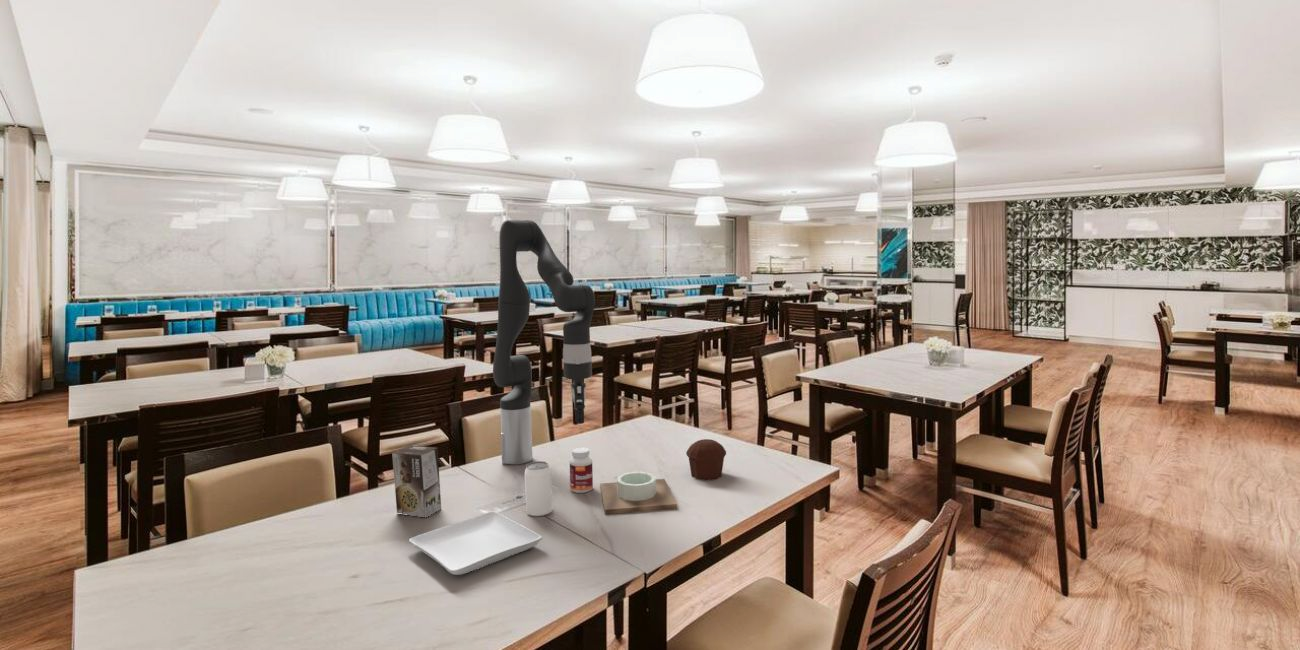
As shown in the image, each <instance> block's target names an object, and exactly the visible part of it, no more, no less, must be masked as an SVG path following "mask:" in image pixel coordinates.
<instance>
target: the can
mask: <svg viewBox="0 0 1300 650" xmlns="http://www.w3.org/2000/svg"><path fill="white" fill-rule="evenodd" d="M525 467H526V468H525V470H524V489H525V491H524V492H525V493H524V494H525V509H526V510H525V511H526V513H527V515H528V516H530V517H543V516H547V515H549V514H551V512H552V511H553V486H552V469H551V467H550V464H549V462H547V461H532V462H528V463H526V465H525Z"/></svg>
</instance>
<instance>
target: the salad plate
mask: <svg viewBox="0 0 1300 650" xmlns="http://www.w3.org/2000/svg"><path fill="white" fill-rule="evenodd" d="M542 539H543V536H542V535H540V534H539V533H537V532H535V531H533V530H532V529H530V528H528V527H526V526H524V525H522V524H521V523H519V522H516V521H514V520H512V519H511V518H509V517H506V516H505V515H503V514H502V513H499V512H497V511H494V510H493V511H489V512H485V513H482V514H480V515H479V514H478V515H476V516H472V517H470V518H467V519H463V520H460V521H457V522H453V523H451V524H448V525H446V526H442V527H439V528H436V529H433V530H430V531H427V532H424V533H421V534H418V535H416V536H415V535H414V536H413V537H410V538H409V539H408V540H409V543H410V545H411V546H413V547H414V548H415V549H417V550H419V551H420V552H422V553H424V554H425V555H426V556H428V557H430V558H431V559H432V560H434V561H435V562H436V563H438V564H439V565H440V566H442V567H443V568H444V569H445V570H446V571H447V572H448V573H450V574H451V575H455V576H461V575H464V574H468V573H471V572H470V571H472V572H474V571H476V570H475V569H477V570H479V569H478V568H480V567H482V568H484V567H483V566H485V567H487V566H489V565H488V564H490V565H492V564H494V563H493V562H495V563H497V562H500V561H502V560H504V558H505V559H507V558H509V556H510V557H512V556H515V555H517V554H519V553H522V552H524V551H527V550H529V549H531V548H533V547H535V546H536V545H537V544H539V542H540V541H541V540H542ZM514 554H515V555H514ZM511 555H512V556H511ZM506 557H507V558H506ZM501 559H502V560H501ZM499 560H500V561H499ZM496 561H497V562H496ZM491 563H492V564H491ZM486 565H487V566H486ZM480 569H481V568H480ZM473 570H474V571H473Z"/></svg>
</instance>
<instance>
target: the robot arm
mask: <svg viewBox="0 0 1300 650" xmlns="http://www.w3.org/2000/svg"><path fill="white" fill-rule="evenodd" d="M498 242H499V258H500V259H499V264H500V267H499V270H500V273H499V293H498V307H497V308H498V309H497V331H496V333H497V334H496V343H495V348H494V349H495V351H494V357H493V364H492V376H493V377H492V378H493V381H494V384H495V385H496V386H497V387H499V388H508V387H513V388H512V390H510V392H509V393H507V394H505V395H504V396H502V397H501V398H500V399H499V400H500V401H499V406H500V407H499V409H500V426H501V427H500V429H501V430H500V431H501V433H500V449H501V452H500V453H501V464H503V465H507V464H508V465H522V464H528V463H530V462H531V461H532V460H533V439H532V437H533V435H532V414H531V413H532V412H531V399H532V381H533V380H532V378H533V377H532V373H533V372H532V365H531V362H530V359H529V357H528V356H526V355H524V354H517V355H512V351H513V346H514V343H515V341H516V339H517V338H518V337H519V335H520V333H521V332H522V330H523V329H524V327H525V325H526V324H527V322H528V320H529V317H530V309H531V308H530V306H531V294H530V291H529V289H528V286H527V285H526V283H525V282H524V280H523V278H522V276H521V274H520V272H519V269H518V263H517V252H519V253H520V252H532V253H533V254H534V255H536V256H537V261H536V262H537V263H536V264H537V265H536V266H537V267H536V269H537V272H538V275H539V276H540V278H541V280H542V282H544V283H545V285H546V286H547V287H548V288H549V290H550V292H551V295H552V298H553V301H554V304H555V306H556V307H557V308H558V310H560V311H561V312H563V313H575V316H574V318H573V319H571V320H568V321H566V322H565V323H563V325H562V326H563V327H562V335H563V337H562V338H563V348H562V360H563V361H562V364H563V377H564V378H565V379H567V380H572V383H570V391H571V397H572V402H573V403H574V407H573V408H574V415H575V423H576V424H577V425H580V424H582V425H583V424H584V423H585V408H586V405H585V402H586V398H587V397H586V396H587V395H586V391H587V385H586V383H585V382H583V381H584V380H585V379H586V380H587V379H589V378H592V375H593V365H592V363H593V362H592V361H593V360H592V348H591V332H590V328H591V323H592V319H593V314H594V309H595V305H596V296H595V295H596V294H595V291H594V290H593V288H592V287H591V286H590V285H588V284H574V277H573V275H572V273H571V272H570V271H569V269H568V268H567V267H566V266H565V265H564V264H563V263H562V262H561V261H560V259H559V258H558V257H557V255H556V254H555V251H554V250H553V248H552V247H551V245H550V243H549V241H548V240H547V237H546V235H545V234H544V231H543V230H542V229H541V228H540V226H539V224H537V223H536V222H535V221H533V220H530V219H529V220H528V219H506V220H504V221H503V222H502V223H501V225H500V228H499V241H498ZM573 284H574V285H573Z"/></svg>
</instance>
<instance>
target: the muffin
mask: <svg viewBox="0 0 1300 650" xmlns="http://www.w3.org/2000/svg"><path fill="white" fill-rule="evenodd" d="M685 455H686V457H688V463H689V469H690V474H691V477H692V478H695V479H697V480H701V481H711V480H712V481H713V480H717V479H719V478H721V477H722V475H723V468H724V460H725V456H726V455H727V451H726V449H725V448H724V446H723V445H722V444H721V443H719V442H718V441H716V440H714V439H699V440H696V441H695V442H693V443H692V444H691V445H689V447H688V449H687V450H686V452H685Z"/></svg>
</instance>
